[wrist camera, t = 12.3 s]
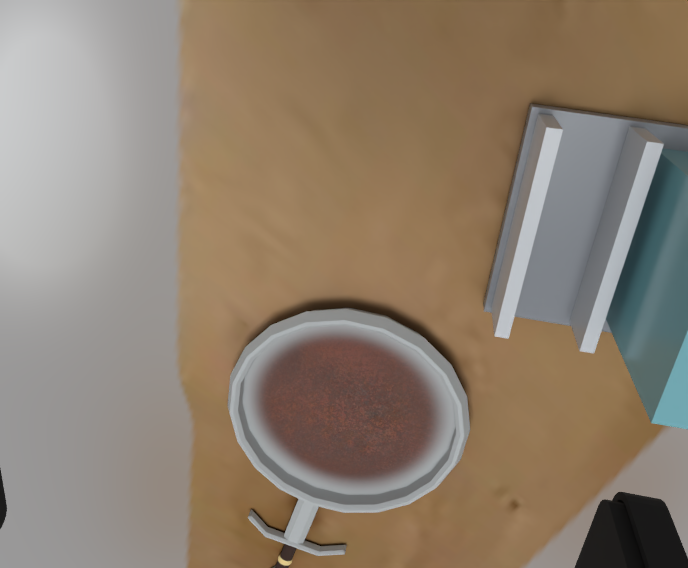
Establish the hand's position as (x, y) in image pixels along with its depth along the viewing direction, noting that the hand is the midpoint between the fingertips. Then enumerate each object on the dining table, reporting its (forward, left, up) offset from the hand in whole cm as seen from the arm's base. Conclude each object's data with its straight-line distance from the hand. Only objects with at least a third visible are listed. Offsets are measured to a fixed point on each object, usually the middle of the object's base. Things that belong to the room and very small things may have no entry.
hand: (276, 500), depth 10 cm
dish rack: (+5, +12, -30) cm, 33 cm away
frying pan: (+26, -2, -31) cm, 41 cm away
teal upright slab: (+5, +15, -29) cm, 33 cm away
